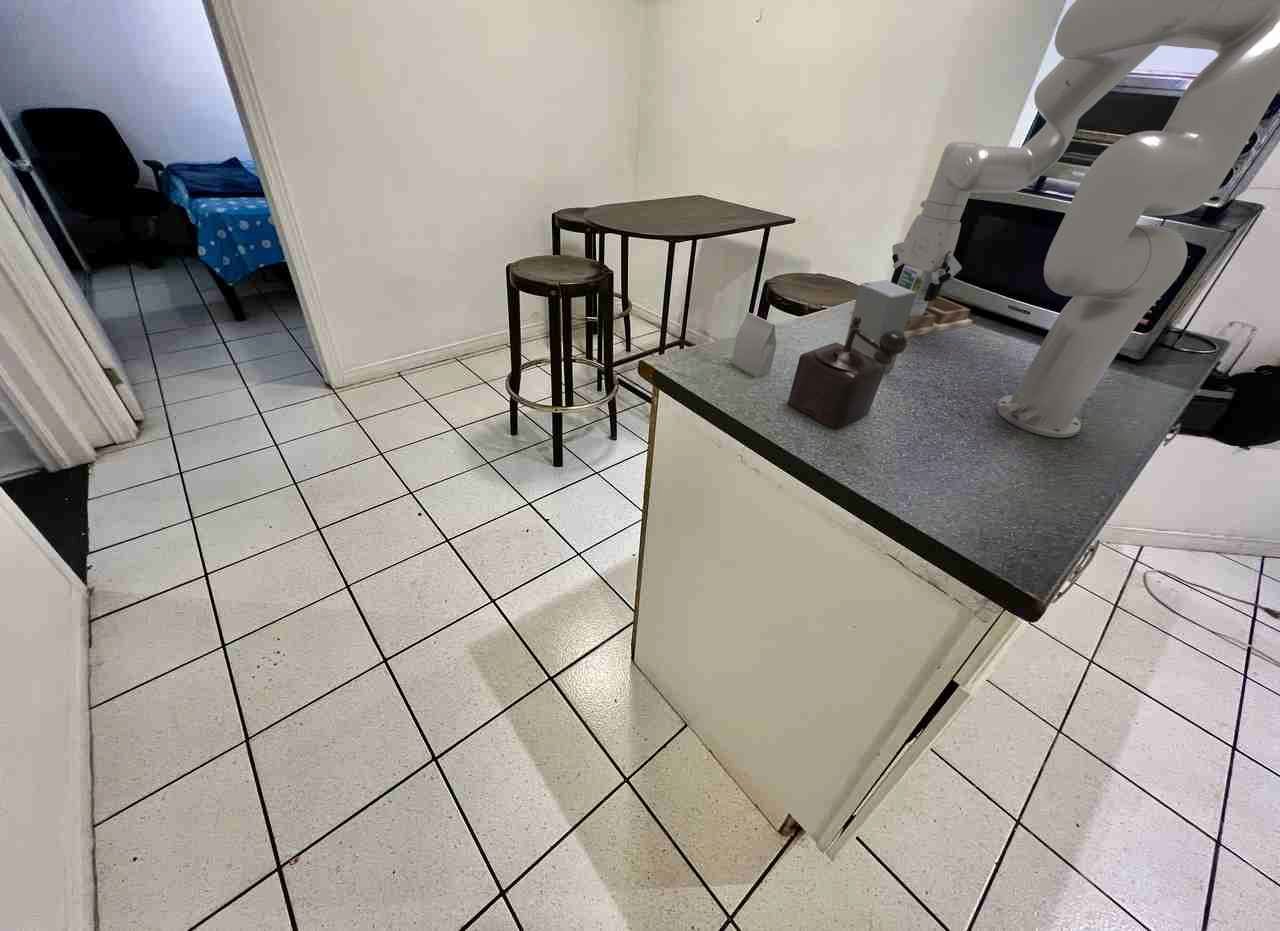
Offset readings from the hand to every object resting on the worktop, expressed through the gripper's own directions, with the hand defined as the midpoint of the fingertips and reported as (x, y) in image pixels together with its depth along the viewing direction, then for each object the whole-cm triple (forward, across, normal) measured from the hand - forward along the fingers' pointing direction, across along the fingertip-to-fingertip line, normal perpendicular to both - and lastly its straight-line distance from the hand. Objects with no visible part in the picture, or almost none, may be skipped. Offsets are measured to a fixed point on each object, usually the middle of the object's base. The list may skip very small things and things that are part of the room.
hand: (911, 293), depth 119 cm
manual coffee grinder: (+8, +26, -44) cm, 52 cm away
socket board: (+8, -2, +6) cm, 10 cm away
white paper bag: (+8, +6, -48) cm, 49 cm away
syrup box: (+7, 0, 0) cm, 7 cm away
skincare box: (+8, +13, -25) cm, 29 cm away
